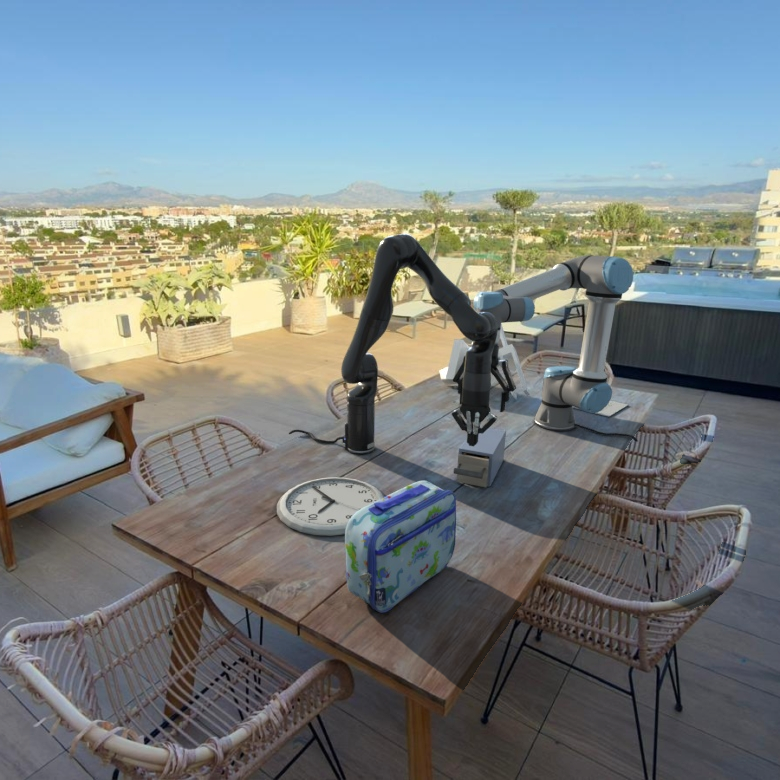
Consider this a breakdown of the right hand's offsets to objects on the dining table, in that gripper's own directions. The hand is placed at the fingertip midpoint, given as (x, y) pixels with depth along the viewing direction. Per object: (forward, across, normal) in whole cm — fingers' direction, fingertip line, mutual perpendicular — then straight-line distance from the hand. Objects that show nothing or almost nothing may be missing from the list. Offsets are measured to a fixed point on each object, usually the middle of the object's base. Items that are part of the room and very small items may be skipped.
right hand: (481, 407), depth 169 cm
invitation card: (+18, +28, +78) cm, 85 cm away
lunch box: (+18, +8, -70) cm, 72 cm away
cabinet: (+18, +4, -8) cm, 20 cm away
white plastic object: (+18, -24, +70) cm, 76 cm away
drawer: (+17, +5, -14) cm, 23 cm away
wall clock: (+18, -24, -50) cm, 58 cm away
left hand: (+3, +6, -24) cm, 24 cm away
